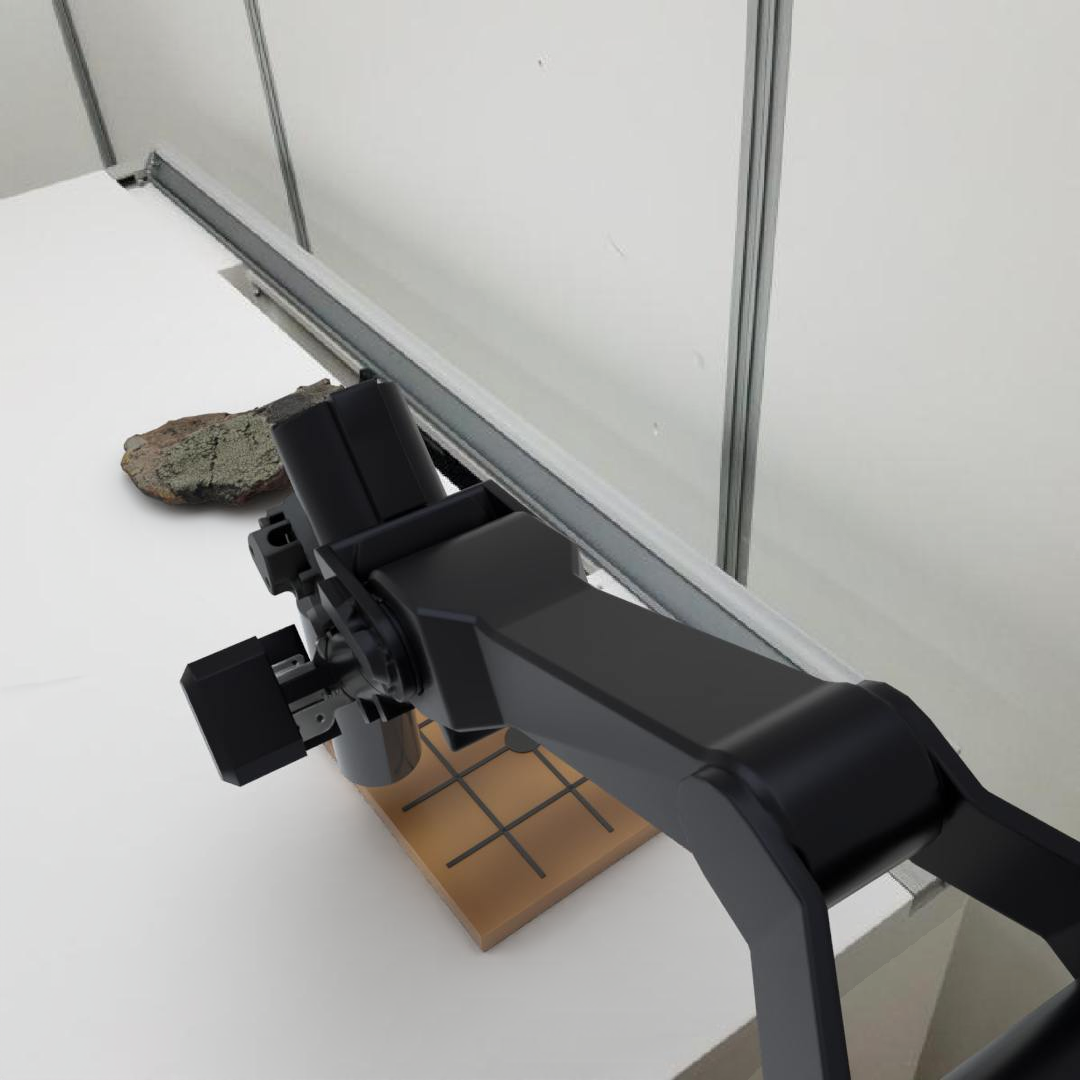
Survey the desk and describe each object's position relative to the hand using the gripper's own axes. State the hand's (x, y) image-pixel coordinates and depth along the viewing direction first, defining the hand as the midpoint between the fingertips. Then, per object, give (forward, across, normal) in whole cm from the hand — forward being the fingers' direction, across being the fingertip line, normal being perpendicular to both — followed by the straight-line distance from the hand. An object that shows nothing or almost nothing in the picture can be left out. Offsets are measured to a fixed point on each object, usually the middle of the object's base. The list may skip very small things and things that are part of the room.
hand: (353, 662), depth 65 cm
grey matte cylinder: (+4, 0, +6) cm, 7 cm away
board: (+7, -9, +10) cm, 15 cm away
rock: (+36, -5, -20) cm, 42 cm away
